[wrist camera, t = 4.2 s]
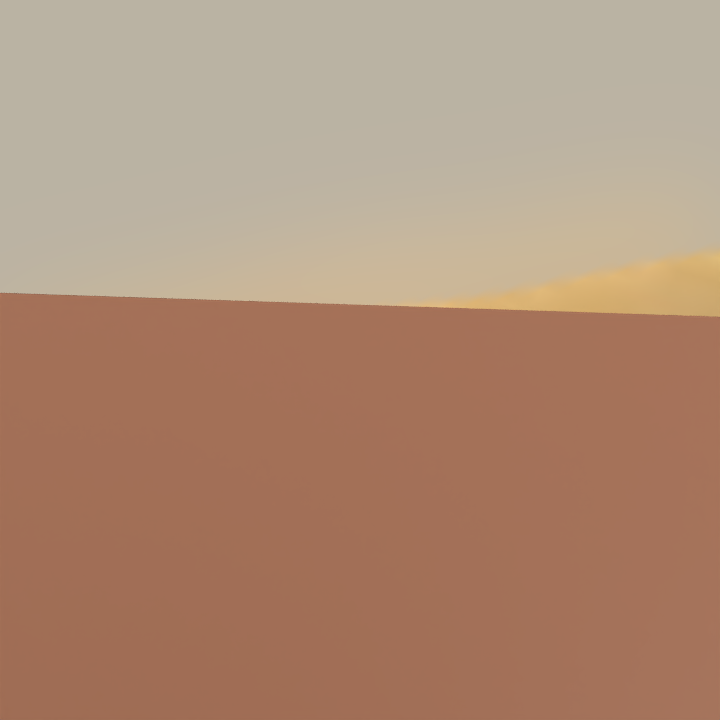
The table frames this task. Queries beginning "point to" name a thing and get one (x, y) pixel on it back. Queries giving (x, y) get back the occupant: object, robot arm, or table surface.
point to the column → (356, 512)
